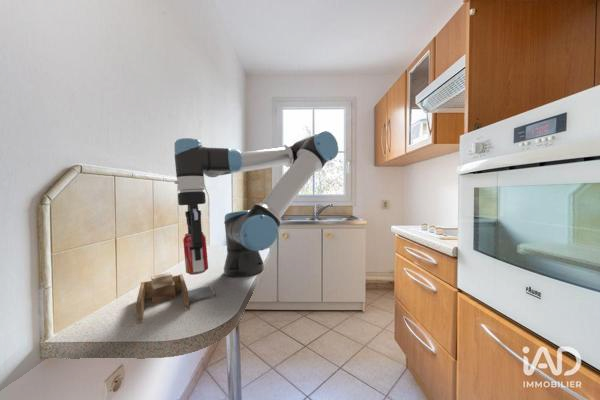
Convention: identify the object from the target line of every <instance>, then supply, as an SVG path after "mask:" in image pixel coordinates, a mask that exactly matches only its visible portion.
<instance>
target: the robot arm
mask: <svg viewBox="0 0 600 400" xmlns="http://www.w3.org/2000/svg"><path fill="white" fill-rule="evenodd" d="M338 145H339V143H338V140H337V138H336V137H335V136H334V135H333V134H332V132H330V131H328V130H321V131H317V132H315V133H314V134H311V135H309V136H307V137H304V138H302V139H300V140H298V141H296V142H293V143H290V144H284V145H283V146H282V147H277V148H269V149H259V150H258V149H257V150H250V151H242V152H241V151H240V150H239V149H238V148H237V149H236V148H231V147H228V148H226V147H205V146H203V144H202V142H201V140H200V139H198V138H197V139H196V138H192V137H191V138H190V137H184V138H178V139H176V141H174V145H173V146H174V163H175V176H176V180H174V184H175V185H177V191H178V193H177V203H178V205H179V206H187V211H184V213H185V217H186V225H187V234H188V233H189V234H191V238H192V248H190V250H192V260H193V272H198V271H203V270H204V267H203V254H202V247H203V241H202V232H203V231H202V230H203V227H202V211H201V210H199V205H205V204H206V193H205V191H204V190H205V189H206V184H205V177H204V176H207V177H208V178H217V177H219V176H226V175H230V174H237V173H243V172H251V171H257V170H264V169H270V168H275V167H277V168H278V167H281V166H282V167H283V166H285V167H287V168H288V169H287V170H286V171H285V173H284V174H283V175H282V176H281V178H280V179H279V180H278V181H277V183H276V184H275V185H274V187H273V188H272V189H271V190H270V192H268V194H267V195H266V197H264V199H263V200H262V202H260V203H254V205H253V206H252V207H251V208H250V209H249V210H237V211H233V212H229V213H226V214H225V216H224V223H223V224H224V229H225V242H226V252H227V253H226V258H225V262H224V266H223V273H224V276H225V277H230V278H239V277H240V278H241V277H242V278H243V277H249V276H253V275H256V274H259V273H261V272H263V271H264V270H265V265H264V260H263V258H262V256H261V254H260V251H264V250H267V249H269V248H271V246H273V245H274V243H275V242H276V241H277V238H278V235H279V234H278V231H279V228H280V226H281V225H282V221H281V218H282V216H284V213H286V211H287V210H288V208H289V207H290V206H291V205H292V203H293V201H295V199H296V197H297V196H298V195H299V193H300V192H301V191H302V189H303V188H304V186H305V185H306V184H307V183H308V182H309V180H310V179H311V177H312V176H313V175H314V173H316V172H320V171H321V170H322V169H323V168H324V166H325V165H326V163H327V162H329V161H333V160H334V159H335V158H337V156H338V154H339V146H338Z"/></svg>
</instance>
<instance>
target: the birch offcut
mask: <svg viewBox="0 0 600 400" xmlns="http://www.w3.org/2000/svg"><path fill="white" fill-rule="evenodd" d="M172 276H173V273H171V272H165V273H160V274H156V275H151V277H150V278H151V279H150V281H152V287H153V289H157V288H161V287H165V286H169V285H173V281H172Z"/></svg>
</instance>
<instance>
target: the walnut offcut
mask: <svg viewBox="0 0 600 400" xmlns="http://www.w3.org/2000/svg"><path fill="white" fill-rule="evenodd" d="M151 294H152V298H151V303H152V304H154V303H160V302H164V301H168V300H171V298H172V299H176V298H175V297H176V296H177V295H176V292H175V284H174V281H173V285H169V286H165V287H161V288H157V289H153V287H151Z"/></svg>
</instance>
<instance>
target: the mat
mask: <svg viewBox="0 0 600 400" xmlns="http://www.w3.org/2000/svg"><path fill="white" fill-rule="evenodd" d="M214 297H216V293H215V292H214V290H213V289H212V287H211V286H210V285H206V286H203V287H198V288H195V289H190V290H188V300H189V304H191V303H190V302H192V303H195V302H199V301H203V300H206V299H209V298H211V299H212V298H214ZM198 300H199V301H198ZM194 301H195V302H194Z"/></svg>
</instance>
